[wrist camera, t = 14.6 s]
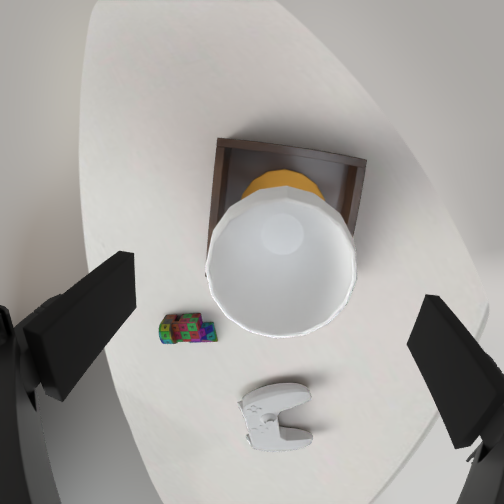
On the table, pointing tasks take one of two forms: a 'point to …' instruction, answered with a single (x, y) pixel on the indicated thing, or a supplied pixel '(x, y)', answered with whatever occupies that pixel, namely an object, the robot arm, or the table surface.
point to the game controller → (274, 417)
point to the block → (186, 329)
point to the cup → (281, 258)
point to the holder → (277, 158)
